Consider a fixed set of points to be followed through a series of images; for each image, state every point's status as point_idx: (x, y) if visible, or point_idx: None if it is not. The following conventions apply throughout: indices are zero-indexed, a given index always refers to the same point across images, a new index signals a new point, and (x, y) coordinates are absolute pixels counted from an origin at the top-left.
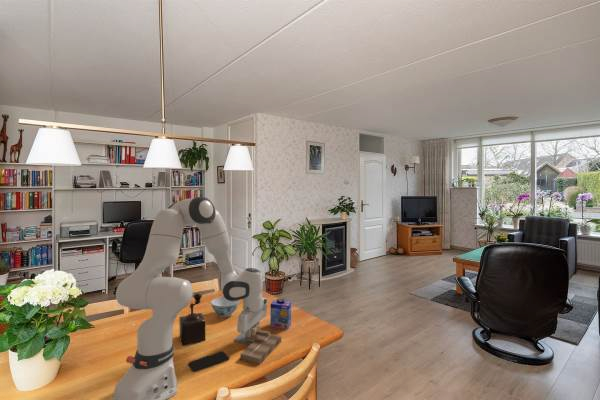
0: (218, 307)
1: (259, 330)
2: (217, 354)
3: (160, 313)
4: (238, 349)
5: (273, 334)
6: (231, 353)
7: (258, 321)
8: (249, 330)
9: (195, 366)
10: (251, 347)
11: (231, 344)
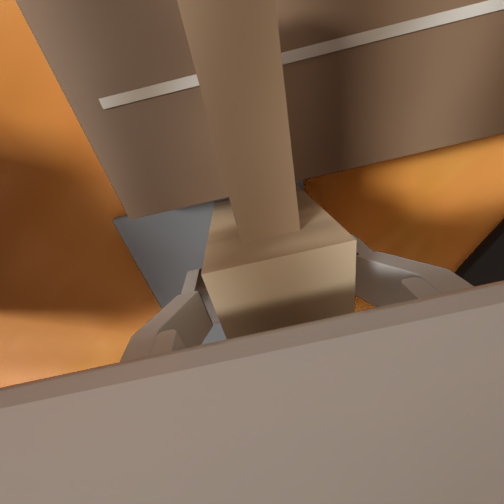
0: None
1: (260, 203)
2: (501, 278)
3: None
4: (396, 231)
5: (55, 73)
6: (456, 231)
7: (188, 354)
8: (444, 273)
9: None
10: (472, 95)
11: (357, 302)
